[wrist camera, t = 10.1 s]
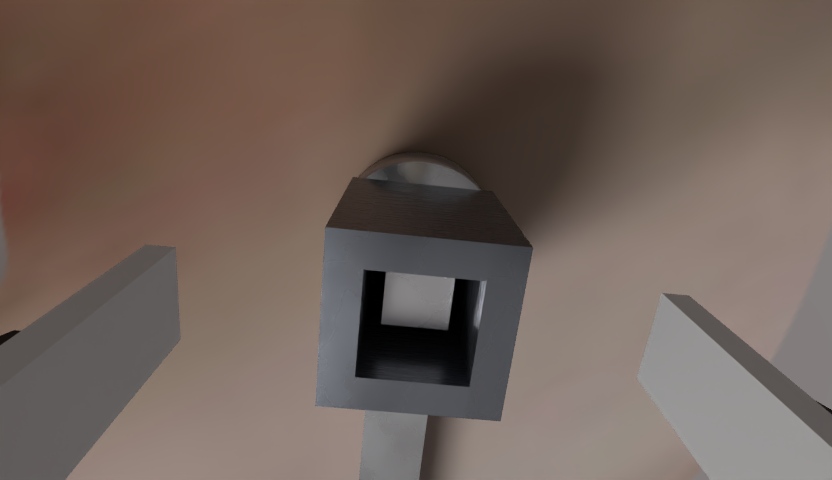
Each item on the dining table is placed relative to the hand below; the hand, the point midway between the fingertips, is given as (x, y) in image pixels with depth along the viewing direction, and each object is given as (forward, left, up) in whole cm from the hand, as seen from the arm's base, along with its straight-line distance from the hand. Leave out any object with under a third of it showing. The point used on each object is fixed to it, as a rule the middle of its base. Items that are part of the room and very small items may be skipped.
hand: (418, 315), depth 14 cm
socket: (+1, 0, -7) cm, 7 cm away
